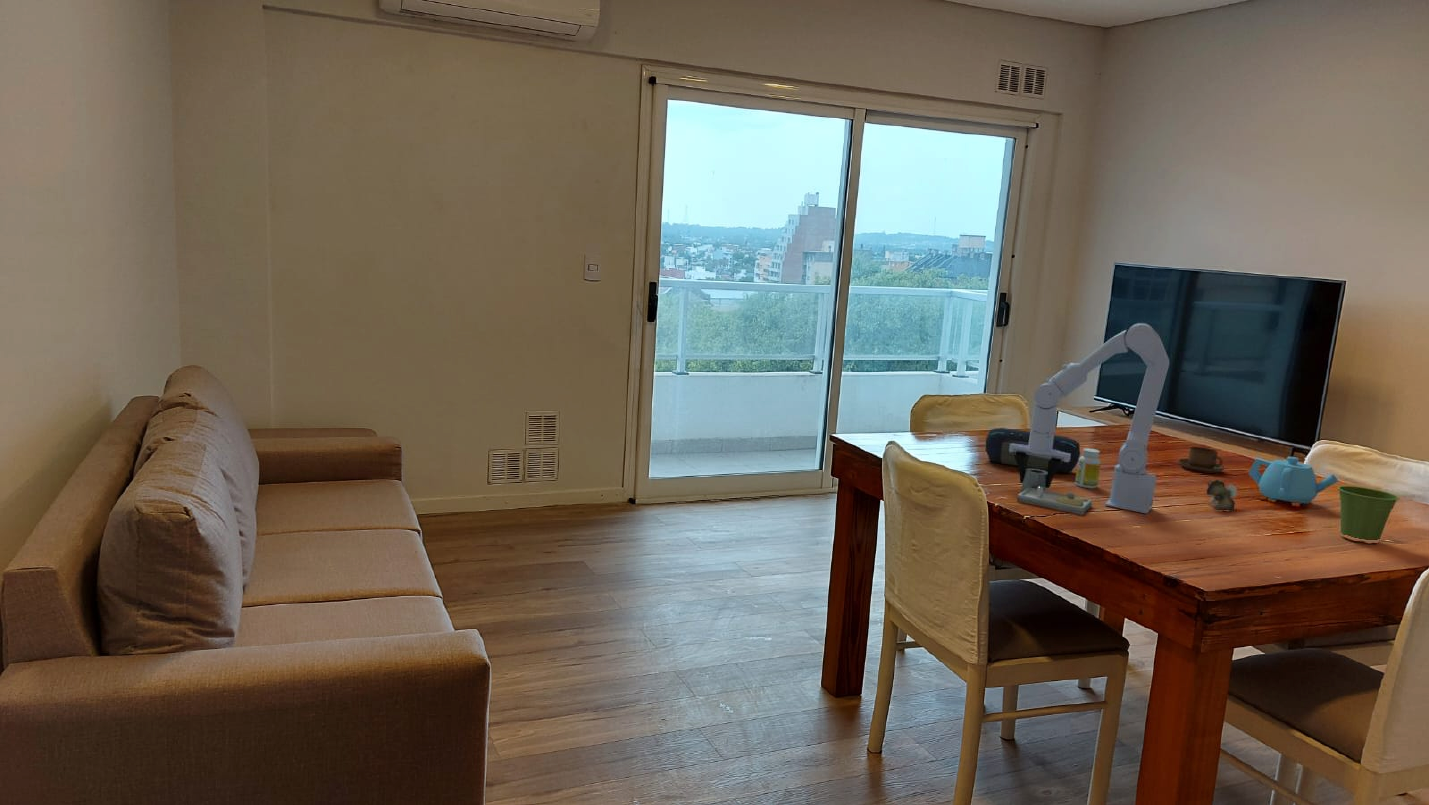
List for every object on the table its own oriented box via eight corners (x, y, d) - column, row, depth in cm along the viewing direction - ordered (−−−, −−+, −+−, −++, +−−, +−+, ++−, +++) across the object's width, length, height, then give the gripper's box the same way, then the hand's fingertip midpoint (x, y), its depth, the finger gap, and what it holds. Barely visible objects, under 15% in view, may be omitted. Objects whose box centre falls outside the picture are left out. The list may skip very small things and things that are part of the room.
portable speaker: (980, 463, 270) (985, 428, 269) (985, 457, 280) (989, 423, 278) (1076, 478, 261) (1081, 442, 259) (1077, 471, 270) (1082, 436, 269)
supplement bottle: (1070, 484, 254) (1076, 448, 252) (1081, 482, 257) (1087, 446, 255) (1090, 489, 250) (1095, 453, 248) (1100, 487, 253) (1106, 451, 251)
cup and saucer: (1228, 472, 285) (1231, 451, 284) (1216, 477, 276) (1220, 456, 275) (1185, 463, 293) (1188, 443, 292) (1172, 468, 284) (1175, 447, 283)
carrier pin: (1042, 501, 234) (1044, 487, 234) (1040, 502, 233) (1042, 488, 232) (1036, 499, 235) (1038, 485, 234) (1035, 501, 234) (1036, 487, 233)
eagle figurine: (1194, 494, 248) (1197, 495, 239) (1216, 472, 247) (1219, 472, 238) (1221, 516, 246) (1225, 518, 237) (1243, 494, 244) (1248, 495, 235)
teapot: (1239, 498, 252) (1246, 454, 250) (1250, 488, 265) (1258, 446, 263) (1328, 517, 240) (1337, 470, 238) (1336, 505, 253) (1345, 461, 251)
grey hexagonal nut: (1048, 491, 245) (1051, 471, 244) (1042, 495, 240) (1045, 475, 239) (1025, 486, 247) (1028, 467, 247) (1019, 490, 243) (1022, 471, 242)
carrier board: (1091, 506, 233) (1093, 493, 232) (1082, 514, 224) (1084, 501, 224) (1027, 493, 241) (1029, 480, 240) (1016, 501, 232) (1018, 488, 232)
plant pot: (1395, 542, 222) (1405, 494, 220) (1383, 551, 213) (1393, 502, 211) (1336, 528, 230) (1345, 482, 228) (1322, 537, 222) (1331, 489, 220)
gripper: (1076, 434, 241) (1068, 487, 243) (1017, 424, 248) (1010, 476, 250) (1069, 438, 235) (1061, 492, 237) (1009, 428, 242) (1002, 481, 245)
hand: (1035, 484), depth 243 cm, fingers closed on grey hexagonal nut, 6 cm apart
